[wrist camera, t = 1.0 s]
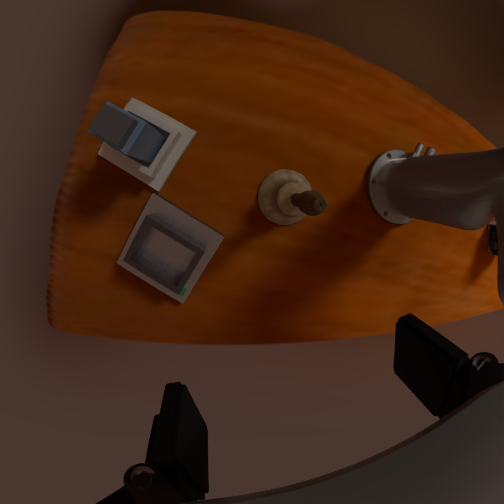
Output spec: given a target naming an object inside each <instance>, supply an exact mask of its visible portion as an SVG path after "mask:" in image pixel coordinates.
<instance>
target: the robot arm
mask: <svg viewBox="0 0 504 504" xmlns="http://www.w3.org/2000/svg"><path fill="white" fill-rule="evenodd" d="M423 149H424V146H423V145H422V144H420V143H418V144H417V145H416V147H415V150H414V152H412V153H407V152H405V151H402V150H389V151H386V152H383V153H382V154H380V155H379V156H378V157H377V158H376V159H375V160H374V162H373V164H372V165H371V168H370V170H369V174H368V179H367V188H368V195H369V198H370V202H371V204H372V206H373V208H374V209H375V211H376V212H377V214H378V215H379V216H380V217H381V218H383V219H384V220H386V221H388V222H391V223H395V224H404V223H408V222H410V221H412V220H413V219H414V218H415V219H420V220H424V221H429V222H433V223H437V224H442V225H446V226H450V227H454V228H459V229H463V230H477V229H480V228H482V227H483V226H485V225H487V224H488V223H489V222H490V221H491V220H492V219H493V218H495V221H496V229H497V237H498V274H497V286H498V294H499V297H500V300H501V302H502V303H503V305H504V147H502V148H498V149H493V150H487V151H479V152H467V153H455V154H441V155H436V151H435V150H434V149H433V148H431V147H427V149H426V151H425V154H424V156H420V154H421V153H422V151H423ZM372 182H373V183H372ZM393 368H394V372H395V374H396V375H397V376H398V377H399V378H400V379H401V380H402V381H403V382H404V383H405V384H406V386H407V387H408V388H409V389H410V390H411V391H412V392H413V393H414V394H415V396H416V397H417V398H418V399H419V400H420V401H421V402H422V403H423V404H424V406H425V407H426V408H427V409H428V410H429V411H430V412H431V413H432V414H433V415H434V416H438V417H439V418H440V420H438V421H437V422H435V423H434V424H432V425H430V426H429V427H427V428H426V429H424V430H422V431H420V432H419V433H417V434H415V435H413V436H412V437H410V438H408V439H406V440H405V441H403V442H401V443H399V444H397V445H395V446H393V447H391V448H389V449H387V450H385V451H383V452H381V453H378V454H376V455H374V456H372V457H370V458H367V459H365V460H363V461H360V462H358V463H356V464H353V465H351V466H348V467H346V468H343V469H340V470H337V471H334V472H332V473H329V474H326V475H323V476H320V477H317V478H313V479H310V480H307V481H303V482H300V483H296V484H292V485H289V486H284V487H280V488H276V489H271V490H266V491H261V492H256V493H251V494H245V495H239V496H232V497H225V498H217V499H209V500H205V493H208V491H209V481H208V430H207V426H206V424H205V422H204V420H203V418H202V416H201V414H200V412H199V410H198V408H197V407H196V405H195V403H194V401H193V399H192V397H191V395H190V393H189V391H188V389H187V387H186V385H182V384H181V383H180V382H175V383H168V384H166V386H165V390H164V395H163V400H162V405H161V410H160V414H158V415H155V417H154V420H153V425H152V429H151V434H150V439H149V444H148V449H147V454H146V460H145V463H139V464H136V465H133V466H131V467H130V468H129V469H128V470H127V471H126V472H125V474H124V477H123V482H124V485H125V486H123V487H122V488H121V489H119V490H117V491H116V492H114V493H112V494H111V495H109V496H108V497H106V498H104V499H103V500H101V501H100V502H98V503H96V504H504V363H500V364H499V362H498V359H497V358H496V357H495V355H493V354H491V353H488V352H480V353H477V354H475V355H473V356H472V357H471V359H470V358H468V354H467V353H466V352H464V351H463V350H461V349H460V348H459V347H458V346H456V345H455V344H453V343H452V342H450V341H449V340H448V339H447V338H445V337H444V336H442V335H441V334H440V333H438V332H437V331H435V330H434V329H433V328H431V327H430V326H428V325H427V324H426V323H424V322H423V321H421V320H420V319H418V318H417V317H416V316H414V315H413V314H411V313H409V314H407V315H405V316H402V317H400V318H399V319H398V322H397V323H396V333H395V353H394V367H393ZM197 500H201V501H197Z"/></svg>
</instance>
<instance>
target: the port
mask: <svg viewBox="0 0 504 504" xmlns="http://www.w3.org/2000/svg"><path fill="white" fill-rule="evenodd" d="M224 237H225V235H223V234H222V233H220V232H218V231H217V230H215V229H214V228H212V227H210V226H209V225H207V224H205V223H204V222H202V221H201V220H199V219H197V218H196V217H194V216H193V215H191V214H189V213H188V212H186V211H184V210H183V209H181V208H180V207H178V206H176V205H175V204H173V203H171V202H170V201H168V200H167V199H165V198H163V197H162V196H160V195H158V194H157V193H153V194H152V195H151V197H150V199H149V201H148V203H147V204H146V206H145V208H144V210H143V212H142V214H141V215H140V217H139V219H138V221H137V223H136V225H135V227H134V229H133V231H132V233H131V235H130V237H129V239H128V241H127V243H126V245H125V247H124V249H123V251H122V253H121V255H120V257H119V259H118V261H117V264H119V265H120V266H122V267H123V268H125V269H127V270H128V271H130V272H131V273H133V274H134V275H136V276H138V277H139V278H141V279H142V280H144V281H146V282H147V283H149V284H150V285H152V286H154V287H155V288H157V289H159V290H160V291H162V292H164V293H165V294H167V295H169V296H170V297H172V298H174V299H176V300H177V301H179V302H181V303H182V304H184V302H185V300H186V299H187V297H188V295H189V294H190V292H191V290H192V289H193V287H194V285H195V284H196V282H197V280H198V279H199V277H200V276H201V274H202V272H203V271H204V269H205V267H206V266H207V264H208V263H209V261H210V259H211V258H212V256H213V255H214V253H215V251H216V250H217V248H218V247H219V245H220V243H221V242H222V240H223V239H224Z"/></svg>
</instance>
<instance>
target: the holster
mask: <svg viewBox="0 0 504 504" xmlns="http://www.w3.org/2000/svg"><path fill="white" fill-rule="evenodd" d="M124 110H125V111H127V112H129V113H131V114H132V115H134V116H136V117H138V118H140V119H142V120H144V121H145V122H147V123H148V124H150V125H151V126H152V127H153V128H154V129H156V130H157V131H158V132H159V133H160V134H162V135H163V136H164V137H165V138H166V139H167V140H166V142H165V143H164V145H163V146H162V148H161V149H160V151H159V153H158V154H157V156H156V157H155V159H154V161H153V162H152V163H150V162H147V161H144V160H141V159H138V158H135V157H132V156H129V155H126V154H124V153H123V152H121V151H119V150H118V149H116V148H114V147H113V146H111V145H109V144H107V143H106V142H103V144H102V146H101V148H100V150H99V152H98V155H100V156H102V157H103V158H105V159H106V160H108V161H110V162H111V163H113V164H115V165H116V166H118V167H120V168H121V169H123V170H124V171H126V172H128V173H129V174H131V175H133V176H134V177H136V178H137V179H139V180H141V181H142V182H144V183H146V184H147V185H149V186H151V187H152V188H154V189H155V190H157V191H159V192H160V191H161V189H162V187H163V186H164V184H165V182H166V181H167V179H168V177H169V176H170V174H171V172H172V171H173V169H174V168H175V166H176V164H177V163H178V161H179V160H180V158H181V156H182V155H183V153H184V152H185V150H186V149H187V147H188V146H189V144H190V143H191V141H192V140H193V138H194V137H195V135H196V134H197V132H196V131H194V130H192V129H190V128H189V127H187V126H185V125H183V124H182V123H180V122H178V121H176V120H174V119H173V118H171V117H169V116H167V115H165V114H163V113H161V112H160V111H158V110H156V109H154V108H152V107H150V106H148V105H146V104H144V103H142V102H140V101H138V100H137V99H135V98H133V97H132V99H131V100H130V102H129V103H128V104H127V105H126V107H125V108H124Z"/></svg>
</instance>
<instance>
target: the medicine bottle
mask: <svg viewBox="0 0 504 504" xmlns="http://www.w3.org/2000/svg"><path fill="white" fill-rule="evenodd" d="M488 253H491V254H494V255H497V256H498V237H497V229H496V221H494V222H491V223H489V224H488Z"/></svg>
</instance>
